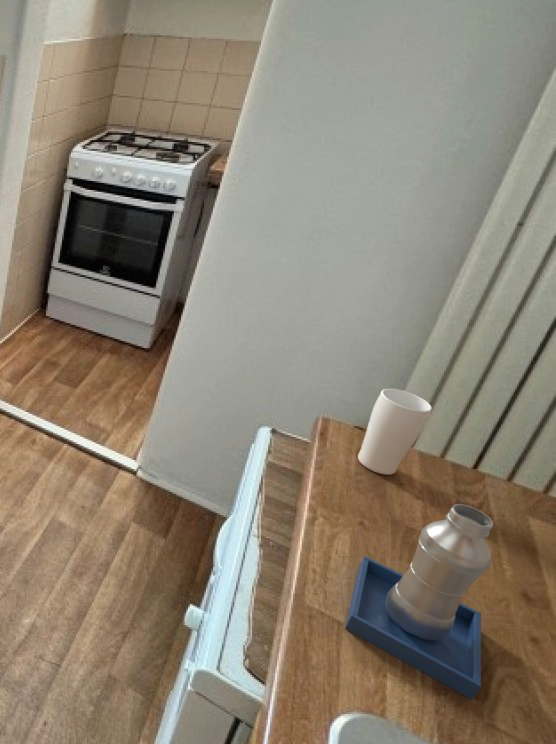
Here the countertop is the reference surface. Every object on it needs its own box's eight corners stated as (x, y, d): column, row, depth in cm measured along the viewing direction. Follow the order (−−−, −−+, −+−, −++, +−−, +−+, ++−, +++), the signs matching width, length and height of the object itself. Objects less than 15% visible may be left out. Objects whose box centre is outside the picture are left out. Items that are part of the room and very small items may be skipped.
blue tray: (358, 567, 91) (364, 555, 90) (473, 625, 83) (481, 612, 82) (344, 628, 82) (351, 615, 81) (472, 700, 74) (480, 686, 73)
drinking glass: (342, 452, 114) (370, 387, 109) (378, 453, 114) (408, 388, 109) (372, 478, 108) (404, 411, 103) (410, 480, 108) (444, 412, 102)
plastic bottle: (450, 630, 82) (516, 520, 74) (436, 658, 78) (504, 546, 71) (388, 593, 87) (444, 487, 79) (373, 618, 83) (430, 509, 76)
